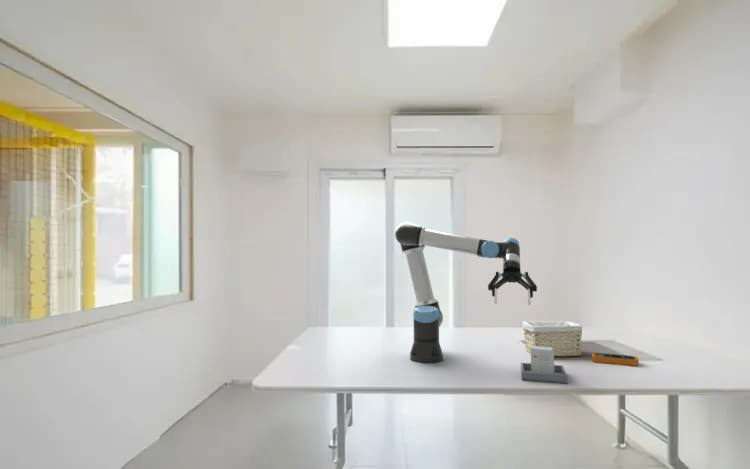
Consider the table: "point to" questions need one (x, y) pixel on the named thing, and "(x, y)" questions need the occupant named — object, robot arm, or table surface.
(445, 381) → the table surface
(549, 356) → the small box
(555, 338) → the storage basket
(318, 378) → the table surface
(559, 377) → the tray
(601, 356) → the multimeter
